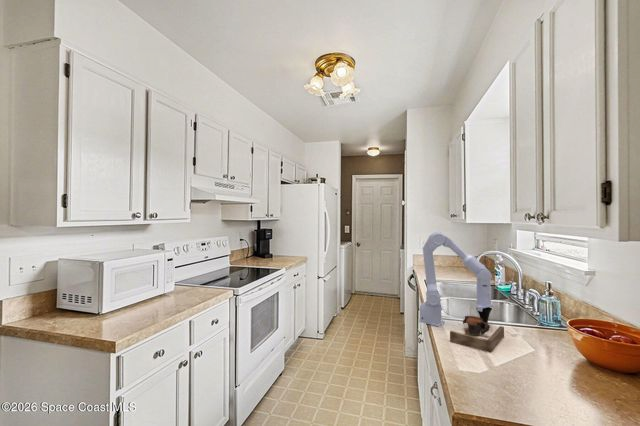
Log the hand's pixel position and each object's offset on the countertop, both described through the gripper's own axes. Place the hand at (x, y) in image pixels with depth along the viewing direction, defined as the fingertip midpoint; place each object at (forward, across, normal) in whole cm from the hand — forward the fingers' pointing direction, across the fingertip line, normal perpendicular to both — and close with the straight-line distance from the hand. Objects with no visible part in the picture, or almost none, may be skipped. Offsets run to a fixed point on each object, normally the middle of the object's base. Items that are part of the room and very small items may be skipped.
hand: (484, 323), depth 136 cm
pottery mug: (+2, -9, +1) cm, 10 cm away
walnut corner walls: (+2, -16, -1) cm, 16 cm away
